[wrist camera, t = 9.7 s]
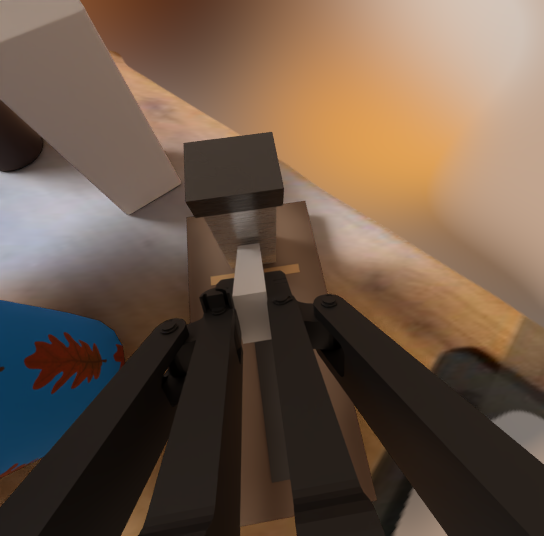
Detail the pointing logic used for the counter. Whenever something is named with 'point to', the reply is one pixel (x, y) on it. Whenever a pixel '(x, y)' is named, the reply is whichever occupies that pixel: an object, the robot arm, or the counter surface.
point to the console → (272, 366)
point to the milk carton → (80, 100)
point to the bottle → (16, 141)
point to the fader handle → (236, 191)
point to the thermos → (48, 377)
